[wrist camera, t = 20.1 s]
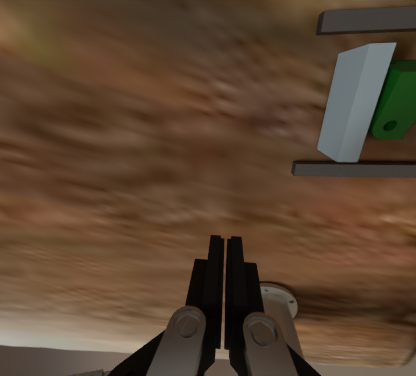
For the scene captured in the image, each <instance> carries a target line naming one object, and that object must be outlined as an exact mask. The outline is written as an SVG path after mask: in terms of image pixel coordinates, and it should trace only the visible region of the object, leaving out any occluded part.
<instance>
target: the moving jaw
mask: <svg viewBox="0 0 416 376" xmlns="http://www.w3.org/2000/svg"><path fill="white" fill-rule="evenodd" d="M395 46H396V43H374V44H367V45H364V46H361V47H358V48H355V49H352V50H349V51H346V52H343V53H340V54H338V59H337V63H336V68H335V72H334V76H333V81H332V85H331V90H330V94H329V98H328V103H327V107H326V112H325V116H324V120H323V125H322V129H321V134H320V138H319V142H318V147H317V149H318V150H319V151H321V152H322V153H324V154H325V155H327V156H328V157H330V158H332V159H333V160H335V161H336V162H358V159H359V156H360V153H361V150H362V147H363V144H364V140H365V137H366V134H367V131H368V128H369V125H370V122H371V119H372V116H373V113H374V110H375V107H376V104H377V101H378V98H379V95H380V92H381V89H382V86H383V83H384V79H385V76H386V73H387V70H388V67H389V64H390V61H391V58H392V55H393V52H394V49H395Z"/></svg>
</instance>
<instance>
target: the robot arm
mask: <svg viewBox="0 0 416 376" xmlns="http://www.w3.org/2000/svg"><path fill="white" fill-rule="evenodd" d="M223 268H224V239H223V238H221V236H218V235H211V238H210V245H209V253H208V260H205V259H195V262H194V266H193V271H192V276H191V280H190V285H189V290H188V295H187V299H186V304H185V306H184V307H181V308H179V309H177V310H176V311H175V312H174V313H173V315H172V317H171V318H170V320H169V323H168V325H167V328H166V330H164V331H163V332H162V333H160V334H159V335H158V336H156V337H155V338H154V339H152V340H151V341H150V342H148V343H147V344H146V345H144V346H143V347H142V348H140V349H139V350H138V351H136V352H135V353H133V354H132V355H131V356H130V357H128V358H127V359H125V360H124V361H123V362H122V363H120V364H119V365H117V366H116V367H115V368H114V369H113V370H112V371H106V372H104V371H103V369H102V370H96V371H90V372H85V373H79V374H73V375H67V376H205V375H206V370H207V369H208V368H209V367H210V366H211V365H212V364H213V363H214V362H215V350H216V348H217V349H220V347H221V324H222V300H223ZM297 310H298V305H297V301H296V299H295V297H294V295H293V294H292V293H291V292H290V291H289V290H288V289H286V288H284V287H282V286H279V285H276V284H272V283H260V282H259V276H258V270H257V265H256V263H248V262H244V257H243V247H242V237H235V236H231V239H227V259H226V282H225V340H224V349H226V350H229V359H230V364H231V366H232V367H233V368H234V370H235V371H236V372H237V373H238V376H321V375H320V374H319V373H318V372H316V370H314V369H313V368H312V367H311V366H310V365H309V364H308V363H307V362H306V361H305V360H304V356H303V353H302V349H301V346H300V342H299V339H298V336H297V332H296V329H295V325H294V322H293V318H294V317H295V315H296V313H297Z"/></svg>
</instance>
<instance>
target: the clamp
mask: <svg viewBox="0 0 416 376" xmlns="http://www.w3.org/2000/svg"><path fill="white" fill-rule="evenodd" d="M415 121H416V60H391V61H390V64H389V67H388V70H387V73H386V76H385V79H384V83H383V86H382V89H381V92H380V95H379V98H378V101H377V104H376V107H375V110H374V113H373V116H372V119H371V122H370V125H369V128H368V132H369V133H370V134H372V135H373V136H374V137H376V138H377V139H403V137H404V135H405V133H406V131H407V130H408V128H409V127H410V126H411V125H412V124H413V123H414V122H415Z"/></svg>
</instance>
